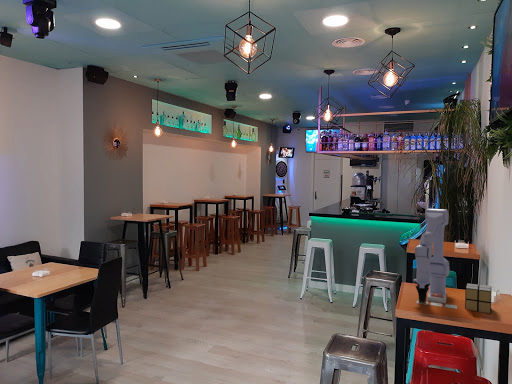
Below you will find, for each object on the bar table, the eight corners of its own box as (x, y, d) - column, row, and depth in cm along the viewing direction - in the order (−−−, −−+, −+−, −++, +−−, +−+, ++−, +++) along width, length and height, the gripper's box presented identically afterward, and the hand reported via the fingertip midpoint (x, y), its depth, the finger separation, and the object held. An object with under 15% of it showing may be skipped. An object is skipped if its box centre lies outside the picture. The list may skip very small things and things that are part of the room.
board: (415, 301, 186) (415, 299, 186) (458, 306, 178) (458, 305, 178) (415, 304, 181) (415, 303, 181) (458, 310, 173) (458, 309, 173)
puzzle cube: (466, 304, 183) (466, 283, 182) (490, 308, 178) (491, 286, 177) (464, 310, 174) (465, 287, 174) (491, 314, 169) (491, 291, 169)
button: (431, 298, 190) (431, 292, 190) (442, 299, 188) (442, 293, 188) (431, 301, 186) (431, 294, 186) (442, 302, 184) (442, 296, 184)
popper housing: (428, 297, 192) (428, 292, 192) (446, 299, 189) (446, 294, 189) (427, 302, 185) (427, 296, 185) (446, 304, 182) (446, 299, 182)
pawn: (418, 300, 185) (419, 286, 184) (426, 302, 183) (426, 287, 183) (418, 302, 182) (418, 288, 181) (426, 303, 180) (426, 289, 180)
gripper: (415, 267, 190) (414, 294, 191) (412, 273, 177) (412, 302, 178) (430, 268, 187) (430, 296, 187) (429, 275, 174) (428, 305, 174)
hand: (422, 299), depth 182 cm, fingers open, 5 cm apart
